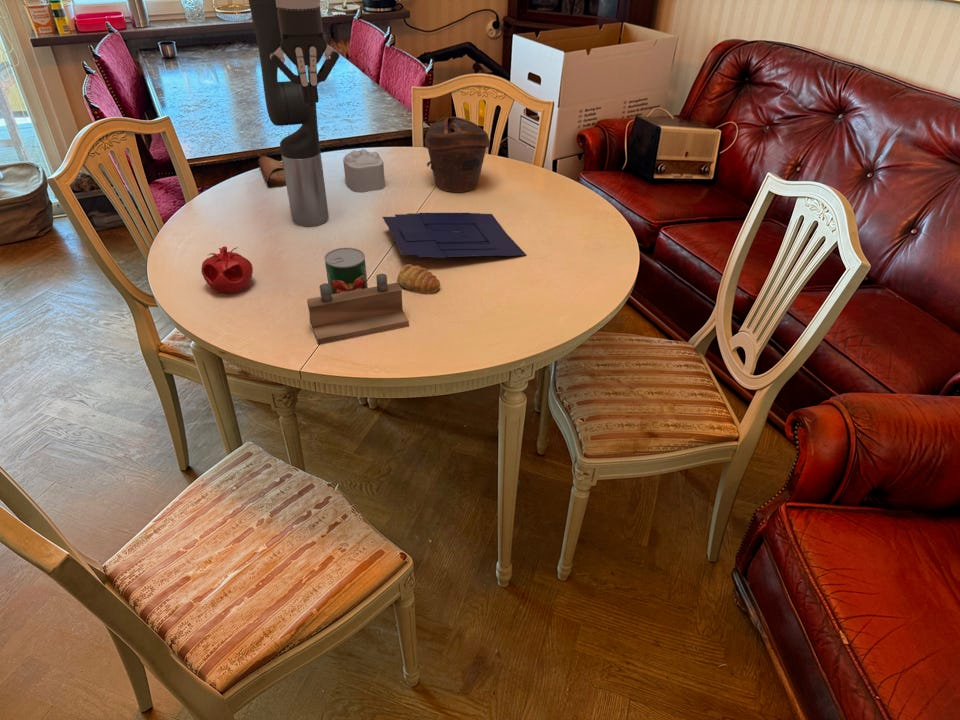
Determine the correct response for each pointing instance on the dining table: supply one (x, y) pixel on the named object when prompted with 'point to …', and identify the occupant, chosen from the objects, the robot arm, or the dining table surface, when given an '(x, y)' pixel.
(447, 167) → the case
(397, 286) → the bench stop
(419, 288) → the pastry
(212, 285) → the pomegranate
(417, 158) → the dining table surface
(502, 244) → the navy folded cloth
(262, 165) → the sunglasses case
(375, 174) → the lumpy-topped squat cylinder
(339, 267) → the canned tomato
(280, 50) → the robot arm
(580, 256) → the dining table surface
